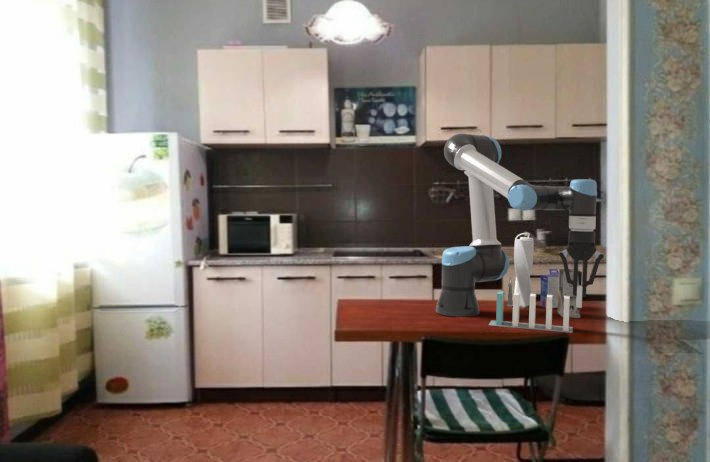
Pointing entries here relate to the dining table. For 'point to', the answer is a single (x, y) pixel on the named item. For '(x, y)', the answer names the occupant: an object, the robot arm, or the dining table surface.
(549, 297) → the domino
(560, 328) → the gray flat rectangular plate
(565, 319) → the domino
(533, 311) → the domino
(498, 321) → the teal domino
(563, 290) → the coffee box
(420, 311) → the dining table surface
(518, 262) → the skyscraper
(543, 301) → the ink cartridge box
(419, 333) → the dining table surface
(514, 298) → the domino
